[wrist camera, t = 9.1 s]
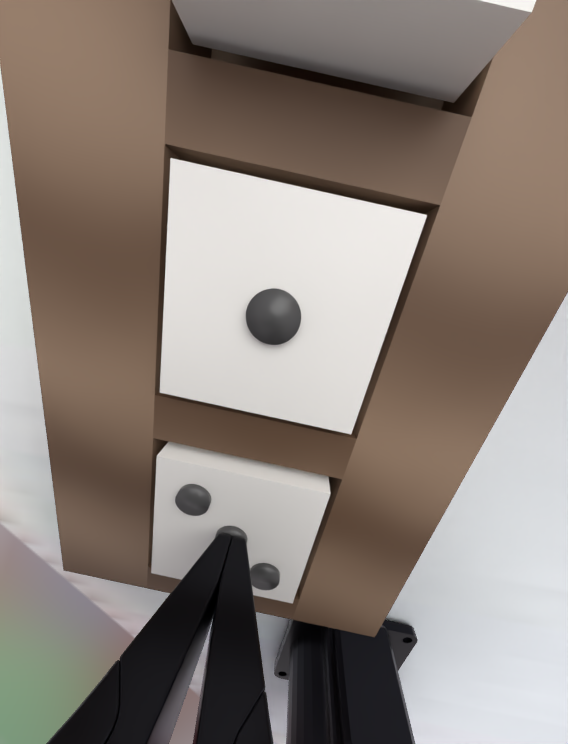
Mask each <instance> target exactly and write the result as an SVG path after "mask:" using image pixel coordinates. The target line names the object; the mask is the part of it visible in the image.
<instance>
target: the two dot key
mask: <svg viewBox="0 0 568 744" xmlns="http://www.w3.org/2000/svg"><path fill="white" fill-rule="evenodd" d="M172 2H173V4H174V6H175V8H176V10H177V12H178V14H179V17H180V19H181V21H182V23H183V25H184V27H185V29H186V31H187V33H188V36H189V38H190V40H191V42H192V44H194V45H198V46H203V47H207V48H212V49H216V50H220V51H225V52H229V53H234V54H238V55H243V56H247V57H252V58H256V59H261V60H265V61H269V62H274V63H278V64H283V65H287V66H292V67H296V68H301V69H305V70H310V71H314V72H318V73H323V74H327V75H332V76H336V77H341V78H345V79H350V80H354V81H359V82H363V83H367V84H372V85H376V86H381V87H385V88H390V89H394V90H399V91H403V92H408V93H412V94H416V95H421V96H425V97H430V98H434V99H439V100H443V101H448V102H452V103H454V102H455V101H456V100H457V99H458V97H459V96H460V95H461V94H462V93H463V92H464V90H465V89H466V88H467V87H468V86H469V85H470V84H471V82H472V81H473V80H474V79H475V78H476V77H477V75H478V74H479V73H480V72H481V71H482V70H483V68H484V67H485V66H486V65H487V64H488V63H489V61H490V60H491V59H492V58H493V57H494V56H495V54H496V53H497V52H498V51H499V50H500V49H501V47H502V46H503V45H504V44H505V43H506V42H507V41H508V39H509V38H510V37H511V36H512V35H513V34H514V32H515V31H516V30H517V29H518V28H519V27H520V25H521V24H522V23H523V22H524V21H525V20H526V18H527V17H528V16H529V15H530V14H531V13H532V10H533V8H534V5H535V2H536V0H172Z"/></svg>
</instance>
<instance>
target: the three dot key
mask: <svg viewBox="0 0 568 744" xmlns="http://www.w3.org/2000/svg"><path fill="white" fill-rule="evenodd" d="M330 494H331V493H330V485H329V477H328V476H325V475H320V474H316V473H311V472H306V471H302V470H297V469H293V468H288V467H284V466H279V465H274V464H270V463H265V462H261V461H256V460H251V459H247V458H242V457H238V456H233V455H228V454H224V453H219V452H215V451H210V450H205V449H201V448H196V447H192V446H187V445H183V444H178V443H173V442H168V443H167V444H166V445H165V447H164V448H163V449H162V450H161V451H160V453H159V454H158V455H157V459H156V481H155V502H154V523H153V545H152V566H151V573H153V574H158V575H162V576H167V577H172V578H176V579H181V580H182V579H183V577H184V576H185V575H186V574H187V572H188V571H189V570H190V569H191V567H192V566H193V565H194V564H195V562H196V561H197V560H198V559H199V557H200V556H201V555H202V554H203V552H204V551H205V550H206V549H207V547H208V546H209V545H210V544H211V542H212V541H213V540H214V539H215V537H216V536H217V535H218V534H219V533H225V534H230V535H232V537H233V536H239V537H244V538H245V539H246V543H247V551H248V559H249V566H250V574H251V582H252V589H253V595H255V596H260V597H264V598H269V599H274V600H278V601H283V602H288V603H292V604H293V601H294V598H295V595H296V592H297V589H298V587H299V584H300V581H301V578H302V575H303V572H304V569H305V566H306V563H307V561H308V558H309V555H310V552H311V549H312V546H313V543H314V540H315V537H316V535H317V532H318V529H319V526H320V523H321V520H322V517H323V514H324V511H325V509H326V506H327V503H328V500H329V497H330Z"/></svg>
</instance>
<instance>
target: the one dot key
mask: <svg viewBox="0 0 568 744" xmlns="http://www.w3.org/2000/svg"><path fill="white" fill-rule="evenodd" d="M426 217H427V215H425V214H420V213H416V212H411V211H407V210H402V209H398V208H393V207H389V206H384V205H380V204H375V203H371V202H366V201H362V200H357V199H353V198H348V197H344V196H339V195H335V194H330V193H326V192H321V191H317V190H312V189H308V188H303V187H299V186H294V185H290V184H285V183H281V182H276V181H272V180H267V179H263V178H258V177H254V176H250V175H245V174H241V173H236V172H232V171H227V170H223V169H218V168H214V167H209V166H205V165H200V164H196V163H191V162H187V161H182V160H178V159H173V158H171V160H170V181H169V203H168V224H167V245H166V267H165V288H164V310H163V331H162V353H161V374H160V393H164V394H169V395H173V396H178V397H182V398H187V399H192V400H196V401H201V402H205V403H210V404H214V405H219V406H224V407H228V408H233V409H237V410H242V411H246V412H251V413H256V414H260V415H265V416H269V417H274V418H278V419H283V420H288V421H292V422H297V423H301V424H306V425H310V426H315V427H320V428H324V429H329V430H333V431H338V432H342V433H347V434H352V431H353V428H354V425H355V422H356V419H357V416H358V413H359V410H360V408H361V405H362V402H363V399H364V396H365V393H366V390H367V387H368V385H369V382H370V379H371V376H372V373H373V370H374V367H375V364H376V361H377V359H378V356H379V353H380V350H381V347H382V344H383V341H384V338H385V335H386V333H387V330H388V327H389V324H390V321H391V318H392V315H393V312H394V309H395V307H396V304H397V301H398V298H399V295H400V292H401V289H402V286H403V284H404V281H405V278H406V275H407V272H408V269H409V266H410V263H411V260H412V258H413V255H414V252H415V249H416V246H417V243H418V240H419V237H420V234H421V232H422V229H423V226H424V223H425V220H426Z"/></svg>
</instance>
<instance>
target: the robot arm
mask: <svg viewBox="0 0 568 744" xmlns="http://www.w3.org/2000/svg"><path fill="white" fill-rule="evenodd" d="M212 619H213V621H212ZM211 622H212V626H211V632H210V638H209V644H208V650H207V657H206V663H205V669H204V676H203V682H202V688H201V695H200V702H199V707H198V714H197V721H196V727H195V733H194V740H193V744H273V738H272V731H271V725H270V718H269V711H268V703H267V696H266V692H264V690H265V682H264V674H263V666H262V659H261V651H260V643H259V635H258V628H257V620H256V612H255V605H254V597H253V589H252V582H251V574H250V566H249V559H248V551H247V543H246V539H245V538H244V537H239V536H233V537H232V535H230V534H225V533H219V534H218V535H217V536H216V537H215V539H214V540H213V541H212V542H211V544H210V545H209V546H208V547H207V549H206V550H205V551H204V552H203V554H202V555H201V556H200V557H199V559H198V560H197V561H196V562H195V564H194V565H193V566H192V567H191V569H190V570H189V571H188V572H187V574H186V575H185V576H184V577H183V579H182V580H181V581H180V582H179V584H178V585H177V586H176V587H175V589H174V590H173V591H172V592H171V594H170V595H169V596H168V597H167V599H166V600H165V601H164V602H163V604H162V605H161V606H160V607H159V609H158V610H157V611H156V612H155V614H154V615H153V616H152V617H151V619H150V620H149V621H148V622H147V624H146V625H145V626H144V627H143V629H142V630H141V631H140V632H139V634H138V635H137V636H136V637H135V639H134V640H133V641H132V643H131V644H130V645H129V646H128V647H127V649H126V650H125V651H124V653H123V654H122V655H121V657H120V661H119V660H118V661H116V662H115V664H114V665H113V666H112V667H111V668H110V670H109V671H108V672H107V674H106V675H105V676H104V677H103V679H102V680H101V681H100V682H99V683H98V685H97V686H96V687H95V688H94V690H93V691H92V692H91V693H90V694H89V696H88V697H87V698H86V699H85V700H84V702H83V703H82V704H81V705H80V706H79V707H78V709H77V710H76V711H75V712H74V713H73V714H72V716H71V717H70V718H69V719H68V720H67V721H66V722H65V723H64V724H63V726H62V727H61V728H60V729H59V730H58V731H57V732H56V733H55V735H54V736H53V737H52V738H51V739H50V740H49V742H47V744H169V742H170V739H171V736H172V733H173V730H174V727H175V725H176V722H177V719H178V716H179V713H180V711H181V708H182V705H183V702H184V699H185V697H186V694H187V691H188V688H189V685H190V682H191V680H192V677H193V674H194V671H195V668H196V665H197V663H198V660H199V657H200V654H201V651H202V649H203V646H204V643H205V640H206V637H207V634H208V632H209V629H210V625H211ZM416 643H417V637H416V634H415V631H414V628H413V627H412V626H409V625H405V624H401V623H396V622H391V621H387V620H384V622H383V624H382V625H381V627H380V629H379V631H378V633H377V634H376V636H375V637H371V636H367V635H362V634H357V633H353V632H348V631H343V630H339V629H334V628H329V627H325V626H320V625H316V624H311V623H306V622H302V621H297V620H292V619H290V622H289V625H288V627H287V630H286V633H285V636H284V639H283V641H282V644H281V647H280V650H279V653H278V656H277V658H276V661H275V669H274V674H275V676H277V677H279V678H282V679H287V680H289V684H288V711H287V738H286V744H415V741H414V737H413V733H412V728H411V724H410V720H409V716H408V712H407V708H406V703H405V699H404V695H403V691H402V687H401V682H400V678H399V674H398V670H399V668H400V667H401V665H402V664H403V662H404V661H405V659H406V658H407V656H408V655H409V653H410V652H411V650H412V649H413V647H414V646H415V644H416Z"/></svg>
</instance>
